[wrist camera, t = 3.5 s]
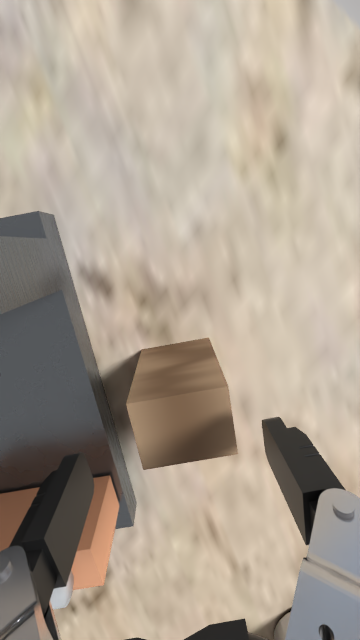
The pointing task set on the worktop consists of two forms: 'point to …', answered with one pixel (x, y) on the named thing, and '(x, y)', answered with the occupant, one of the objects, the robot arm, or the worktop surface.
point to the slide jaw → (95, 543)
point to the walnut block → (180, 405)
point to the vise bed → (49, 368)
